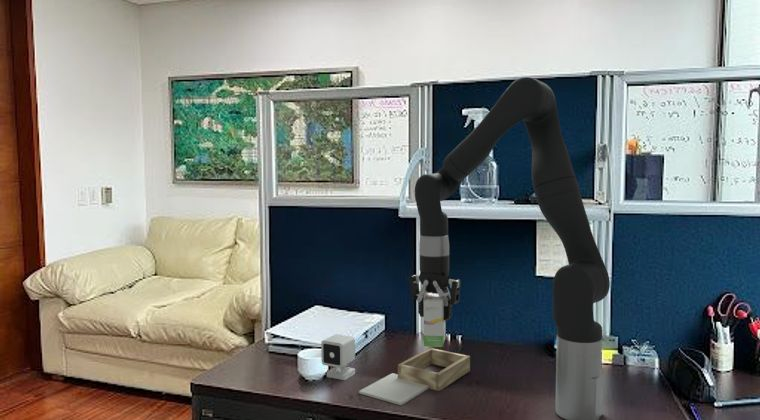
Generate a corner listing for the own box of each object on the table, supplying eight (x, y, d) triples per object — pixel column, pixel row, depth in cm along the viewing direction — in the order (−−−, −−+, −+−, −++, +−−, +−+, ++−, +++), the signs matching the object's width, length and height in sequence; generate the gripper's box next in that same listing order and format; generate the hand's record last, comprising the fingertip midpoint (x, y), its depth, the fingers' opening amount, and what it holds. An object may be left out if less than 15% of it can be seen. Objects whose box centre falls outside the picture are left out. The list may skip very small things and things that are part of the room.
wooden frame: (469, 371, 154) (469, 356, 153) (439, 391, 141) (439, 374, 140) (430, 362, 161) (430, 347, 160) (397, 380, 148) (397, 364, 147)
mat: (432, 385, 144) (432, 383, 144) (401, 405, 133) (401, 402, 133) (392, 375, 151) (392, 373, 151) (359, 393, 140) (359, 390, 140)
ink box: (443, 347, 145) (442, 288, 144) (423, 346, 146) (422, 288, 145) (446, 337, 153) (446, 281, 152) (427, 336, 154) (426, 281, 153)
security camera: (321, 378, 149) (320, 340, 148) (336, 369, 155) (335, 332, 154) (342, 382, 146) (342, 343, 145) (356, 373, 152) (356, 336, 152)
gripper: (466, 253, 147) (467, 318, 148) (417, 248, 155) (418, 311, 156) (452, 257, 140) (452, 325, 142) (402, 252, 149) (403, 317, 150)
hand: (434, 317), depth 149 cm, fingers closed on ink box, 6 cm apart
